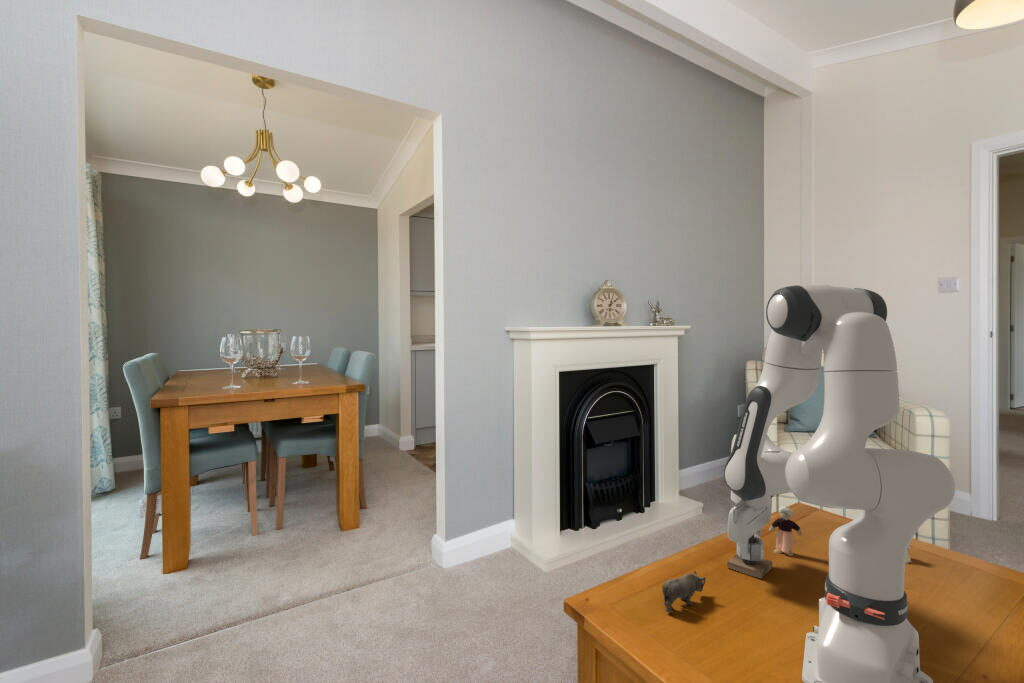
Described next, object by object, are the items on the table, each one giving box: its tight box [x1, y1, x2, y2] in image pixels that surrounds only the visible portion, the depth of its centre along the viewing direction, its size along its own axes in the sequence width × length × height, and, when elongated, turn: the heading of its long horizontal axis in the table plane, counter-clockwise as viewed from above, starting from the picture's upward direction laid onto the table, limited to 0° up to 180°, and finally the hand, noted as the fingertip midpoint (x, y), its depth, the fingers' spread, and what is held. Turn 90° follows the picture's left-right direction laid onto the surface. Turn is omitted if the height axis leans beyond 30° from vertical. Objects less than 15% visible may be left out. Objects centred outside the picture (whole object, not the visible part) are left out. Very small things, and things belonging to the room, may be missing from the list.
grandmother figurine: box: [768, 505, 803, 557], centre depth 129 cm, size 8×4×13 cm, turn 73°
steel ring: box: [735, 536, 765, 561], centre depth 122 cm, size 6×6×4 cm
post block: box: [726, 535, 773, 580], centre depth 122 cm, size 8×8×10 cm
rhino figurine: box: [661, 570, 707, 614], centre depth 107 cm, size 4×14×6 cm, turn 120°
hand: (750, 548), depth 122 cm, fingers closed on steel ring, 6 cm apart
